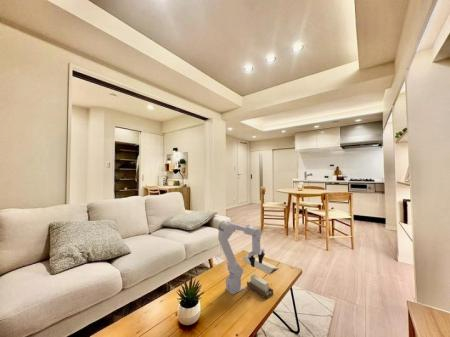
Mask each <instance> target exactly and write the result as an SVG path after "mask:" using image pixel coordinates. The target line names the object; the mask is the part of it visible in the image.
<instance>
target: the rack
mask: <svg viewBox="0 0 450 337" xmlns="http://www.w3.org/2000/svg"><path fill="white" fill-rule="evenodd" d="M246 287H248V288H249V289H250V290H252V291H253V292H255V293H256V294H258V295H259V296H260V297H262V298H264V299H266V300H267V299H268V298H270V297H271V296H273V295H274V289H273V288H272V287H270V286H269V293H267V294H266V293H265V292H263V291H262V290H260V289H259V288H257V287H256V286H254V285H252V284H251V280H250V281H247V282H246Z"/></svg>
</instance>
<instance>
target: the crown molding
mask: <svg viewBox="0 0 450 337" xmlns="http://www.w3.org/2000/svg"><path fill="white" fill-rule="evenodd" d="M253 257H254V258H255V263H254V267H253V268H257V270H260V271H262V272H264V273H266V274H269V275H270V274H272V272H273V271H274V270H278V269H280V268H279V267H278V266H276V265H273V264H272V263H269V262H267V261H265V260H262V264H260V263H259V259H258V257H255V255H254V256H253ZM242 261H243V262H244V263H245V264H248V265H251V263H250V260H249V258H248V254H247V255H244V256H243V258H242V259H241V262H242Z"/></svg>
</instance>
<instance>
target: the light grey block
mask: <svg viewBox="0 0 450 337" xmlns="http://www.w3.org/2000/svg"><path fill="white" fill-rule="evenodd" d="M250 281H251V284H252V285H254V286H256V287H257V288H259V289H260V290H262V291H263V292H265V293H266V294H267V293H269V287H270V285H269V284H270V283H269V281H267V280H266V279H263V278H261V277H260V276H259V275H256V274H254V273H253V274H252V275H250Z"/></svg>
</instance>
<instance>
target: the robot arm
mask: <svg viewBox="0 0 450 337" xmlns="http://www.w3.org/2000/svg"><path fill="white" fill-rule="evenodd" d="M217 230H218V236H217V240H218V242H219V244H220V247H221V250H222V252H223V253H224V256H225V259H226V261H227V262H226V265H227V270H228V273H229V275H228V276H227V277H226V278H225V289H224V290H226V291H227V292H228V293H230V294H231V295H235V294H237V293H238V292H241V291H242V290H244V289H245V287H243V286H242V275H243V273H244V268H243V267H241V265H240V263H239V262H238V261H237V260H236V257H235V254H234V252H233V250H232V248H231V245H230V243H229V239H230V238H231V236H232V235H233V233H235V232H236V230H237V231H240V232H243V233H244V234H245V235H249V236H251V251H250V252H249V253H247V255H248V258H249V260H250V263H251V267H252V268H255V267H254V263H255V258H254V257H255V256H257V258H258V259H259V263H260V264H262V260H263V259H264V258H265V248H261V237H262V234H263V232H262V231H261V228H257V227H256V226H252V225H250V224H246V225H241V224H237V223H234V222H230V221H224V220H223V221H220V223H219V224H218V226H217ZM253 256H254V257H253ZM263 261H264V260H263Z"/></svg>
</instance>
